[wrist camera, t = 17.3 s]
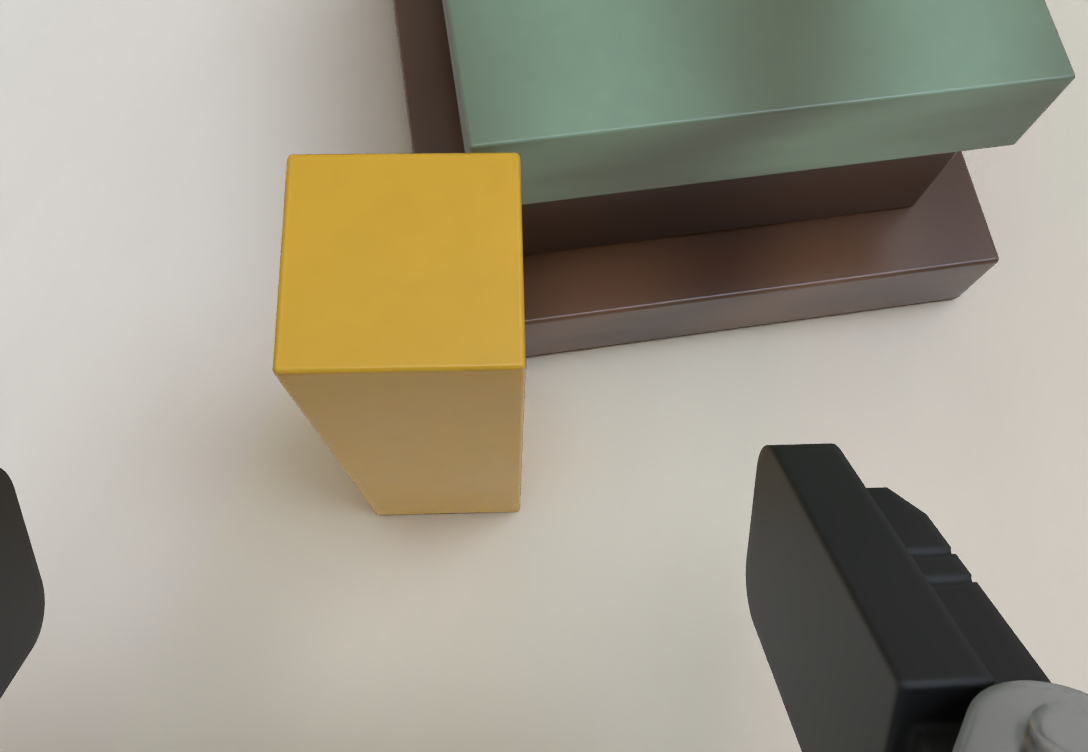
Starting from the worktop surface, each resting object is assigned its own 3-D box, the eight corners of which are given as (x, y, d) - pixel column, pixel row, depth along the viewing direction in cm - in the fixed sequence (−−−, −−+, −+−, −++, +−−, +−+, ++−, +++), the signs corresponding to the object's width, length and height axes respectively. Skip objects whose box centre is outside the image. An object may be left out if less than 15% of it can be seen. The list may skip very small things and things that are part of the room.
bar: (376, 515, 19) (270, 373, 11) (380, 380, 20) (286, 151, 12) (519, 512, 20) (526, 368, 11) (516, 377, 20) (520, 150, 12)
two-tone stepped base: (443, 369, 20) (411, 213, 14) (387, -57, 24) (342, -339, 18) (958, 299, 22) (1157, 121, 15) (827, -100, 25) (938, -382, 19)
